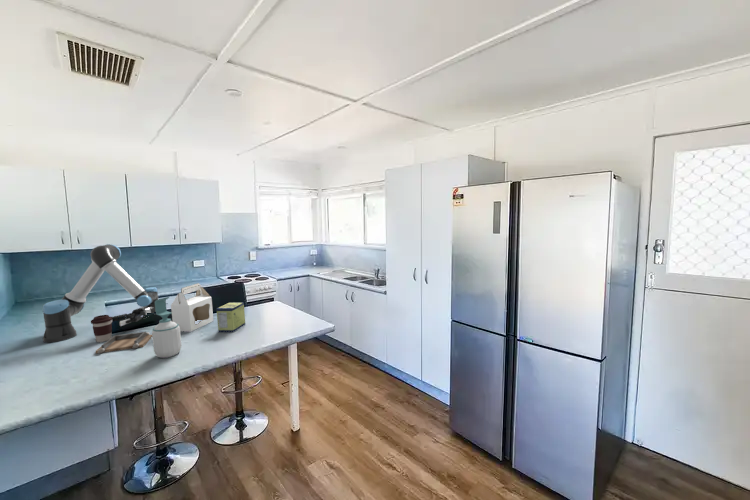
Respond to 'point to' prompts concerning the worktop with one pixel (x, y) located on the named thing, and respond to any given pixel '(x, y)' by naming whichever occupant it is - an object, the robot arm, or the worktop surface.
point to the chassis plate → (125, 342)
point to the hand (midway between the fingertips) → (110, 323)
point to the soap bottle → (165, 333)
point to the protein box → (230, 317)
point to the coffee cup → (102, 327)
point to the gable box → (192, 308)
